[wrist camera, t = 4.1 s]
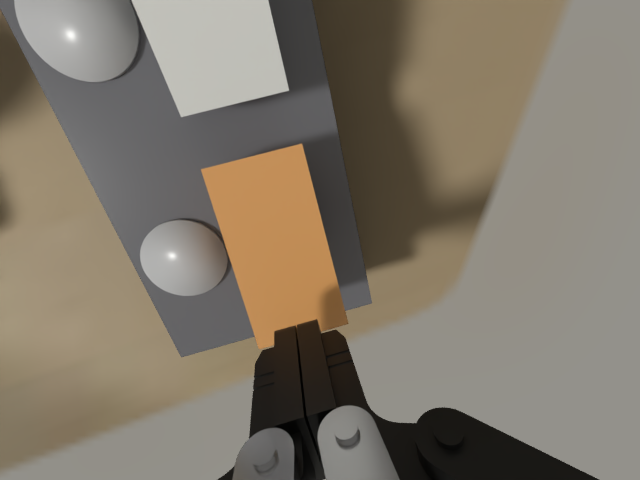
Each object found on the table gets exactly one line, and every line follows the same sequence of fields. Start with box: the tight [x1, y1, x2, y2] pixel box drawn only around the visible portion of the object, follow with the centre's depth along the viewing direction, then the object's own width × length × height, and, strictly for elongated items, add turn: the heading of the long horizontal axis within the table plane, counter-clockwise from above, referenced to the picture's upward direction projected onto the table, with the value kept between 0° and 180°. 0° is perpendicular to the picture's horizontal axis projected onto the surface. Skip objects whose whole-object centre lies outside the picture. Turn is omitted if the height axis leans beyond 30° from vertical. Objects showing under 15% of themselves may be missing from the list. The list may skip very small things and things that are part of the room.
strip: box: [0, 0, 372, 357], centre depth 12 cm, size 28×10×4 cm, turn 13°
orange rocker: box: [201, 144, 348, 349], centre depth 12 cm, size 7×4×2 cm, turn 14°
